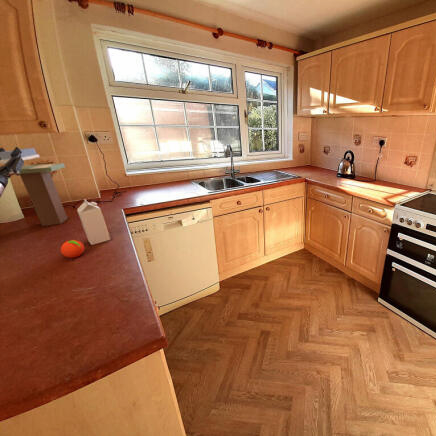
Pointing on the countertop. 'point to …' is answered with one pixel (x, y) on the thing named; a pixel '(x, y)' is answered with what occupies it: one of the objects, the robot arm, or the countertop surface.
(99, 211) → the milk carton
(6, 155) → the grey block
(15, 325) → the countertop surface
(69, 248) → the clementine
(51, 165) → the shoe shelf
